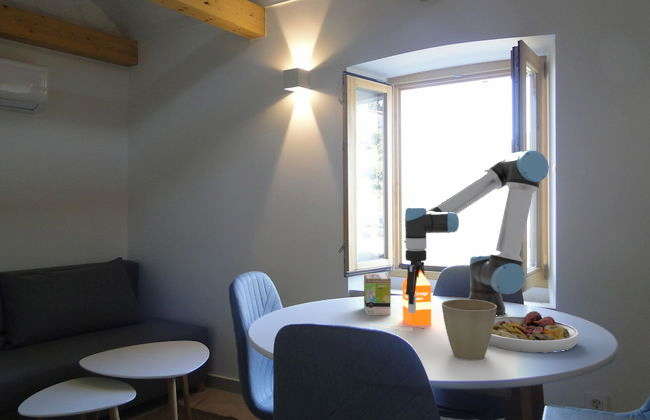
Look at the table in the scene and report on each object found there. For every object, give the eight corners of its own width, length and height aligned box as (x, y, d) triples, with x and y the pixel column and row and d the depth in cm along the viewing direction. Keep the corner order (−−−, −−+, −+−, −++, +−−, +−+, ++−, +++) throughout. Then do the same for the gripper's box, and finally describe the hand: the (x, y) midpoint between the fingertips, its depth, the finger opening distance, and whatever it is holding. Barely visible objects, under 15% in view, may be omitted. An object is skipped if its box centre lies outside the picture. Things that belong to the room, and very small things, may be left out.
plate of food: (572, 364, 141) (572, 336, 140) (464, 348, 157) (463, 323, 156) (583, 338, 166) (583, 314, 166) (489, 327, 182) (489, 305, 182)
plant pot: (437, 365, 141) (436, 307, 140) (447, 350, 154) (446, 297, 154) (494, 372, 135) (494, 311, 134) (499, 355, 148) (499, 301, 148)
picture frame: (424, 329, 178) (424, 327, 178) (410, 343, 162) (410, 341, 162) (360, 323, 189) (360, 321, 189) (340, 335, 172) (340, 333, 172)
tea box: (391, 315, 200) (391, 278, 200) (365, 316, 201) (365, 278, 200) (387, 307, 215) (387, 272, 215) (363, 307, 216) (363, 272, 215)
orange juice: (411, 326, 183) (410, 271, 182) (402, 321, 191) (402, 267, 191) (431, 325, 184) (431, 270, 184) (422, 319, 193) (421, 266, 192)
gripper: (414, 246, 199) (414, 302, 199) (396, 252, 178) (396, 315, 178) (433, 247, 196) (434, 304, 196) (417, 253, 175) (418, 317, 175)
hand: (416, 309), depth 187 cm, fingers closed on orange juice, 11 cm apart
